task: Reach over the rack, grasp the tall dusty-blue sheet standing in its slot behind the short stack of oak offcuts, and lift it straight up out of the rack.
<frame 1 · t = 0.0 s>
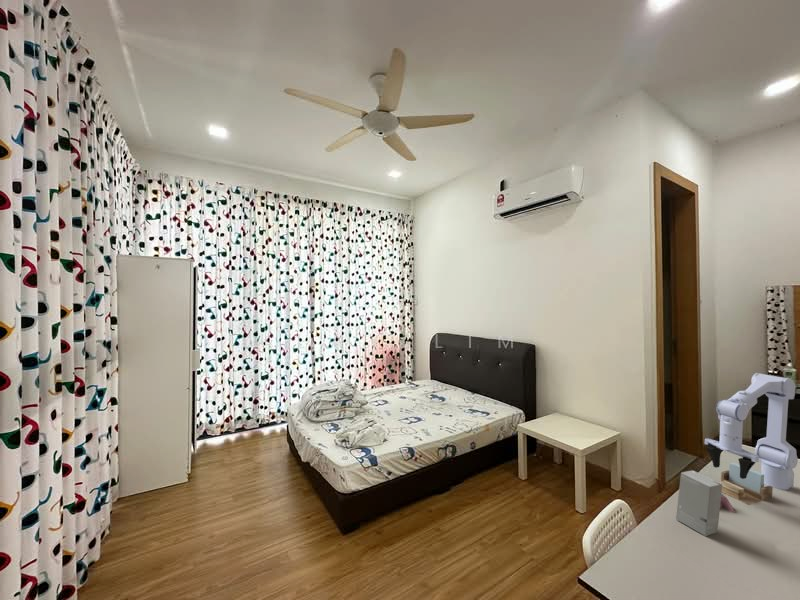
hand: (729, 472, 119), 10 cm above the table, fingers open, 7 cm apart
skincare box: (697, 526, 105), on the table
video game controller: (713, 510, 113), on the table
offcut stack: (731, 493, 121), point 1 cm above the table, touching rack
tall sheet: (745, 489, 124), point 1 cm above the table, touching rack
rack: (738, 494, 122), on the table
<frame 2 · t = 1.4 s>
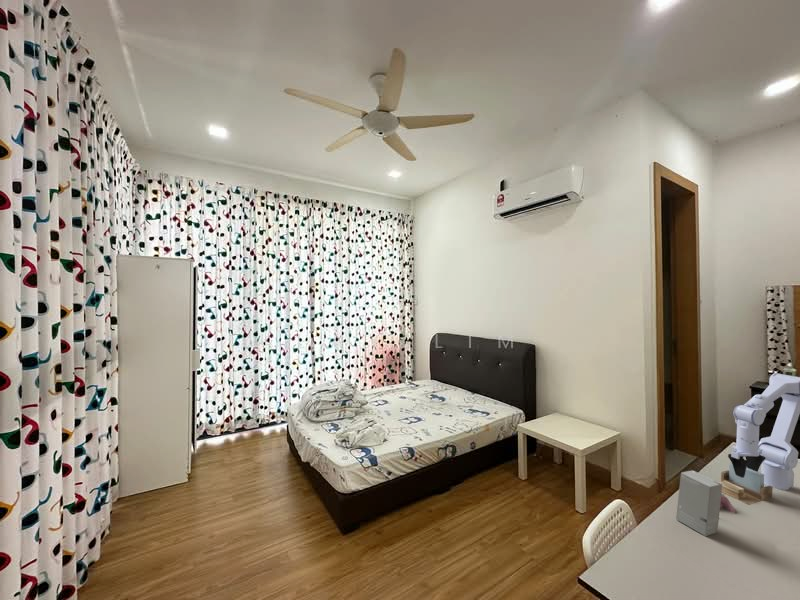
hand: (745, 474, 124), 7 cm above the table, fingers open, 7 cm apart
nothing on the table moved.
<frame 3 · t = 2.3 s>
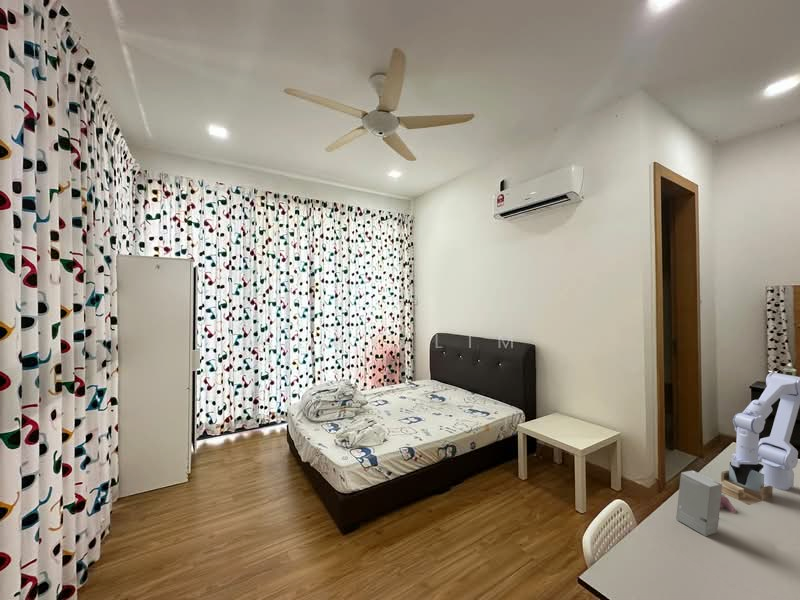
hand: (745, 482, 124), 4 cm above the table, fingers open, 5 cm apart
nothing on the table moved.
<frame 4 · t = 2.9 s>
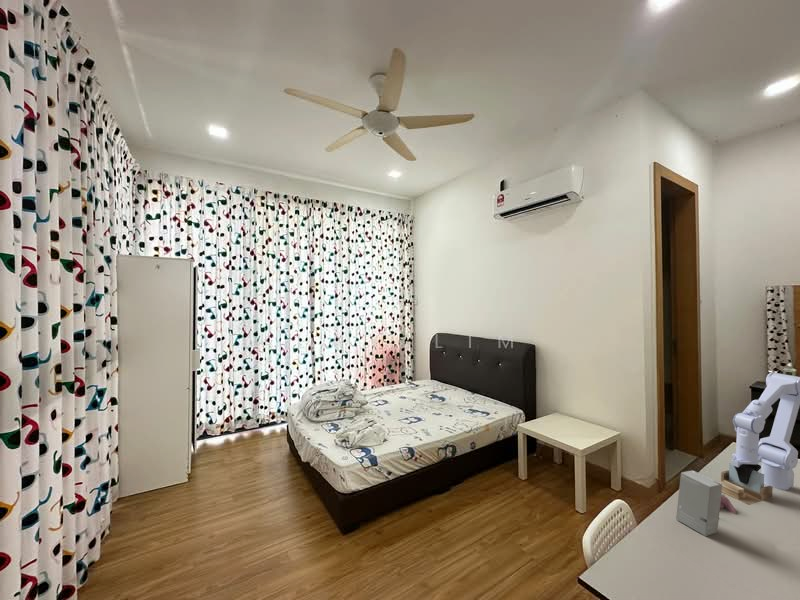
hand: (745, 482, 124), 4 cm above the table, fingers closed on tall sheet, 2 cm apart
tall sheet: (745, 489, 124), point 1 cm above the table, touching gripper, rack
everything else where it was.
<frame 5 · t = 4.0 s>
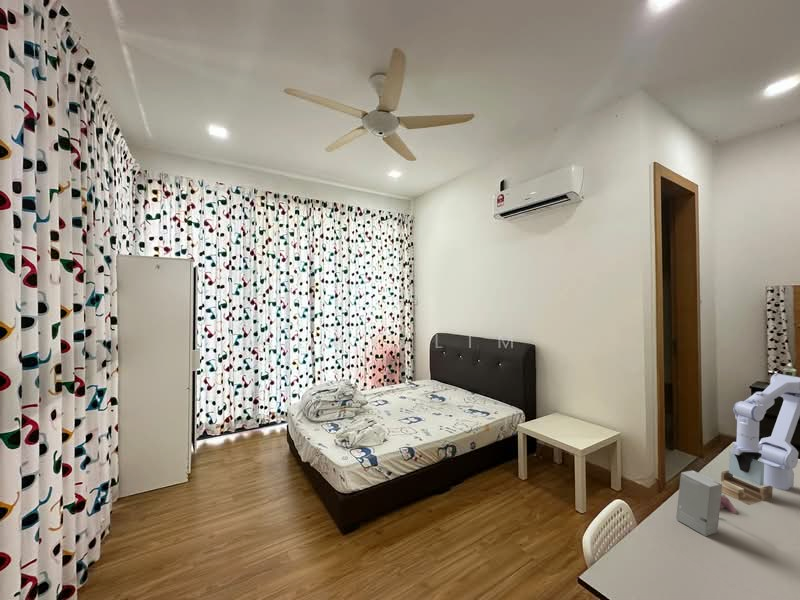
hand: (746, 470, 124), 8 cm above the table, fingers closed on tall sheet
tall sheet: (745, 478, 124), point 5 cm above the table, touching gripper
everything else where it was.
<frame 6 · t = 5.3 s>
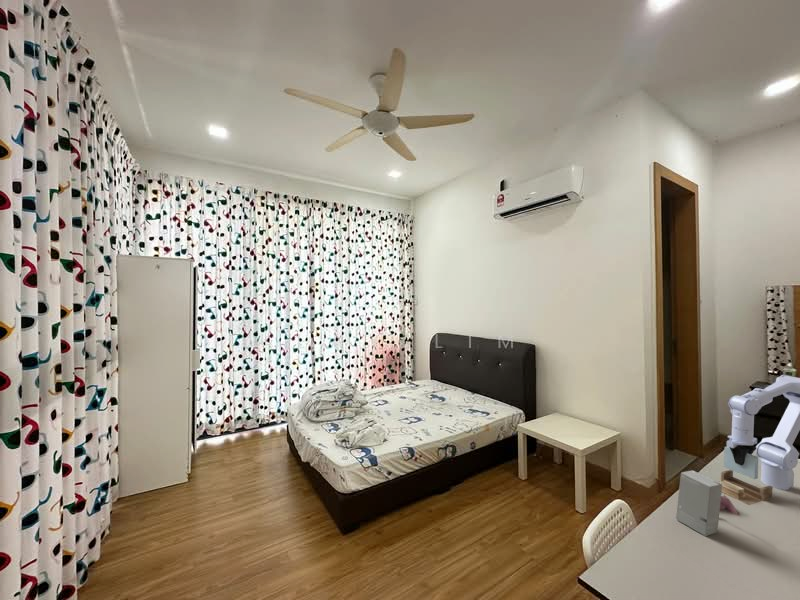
hand: (741, 463, 126), 10 cm above the table, fingers closed on tall sheet
tall sheet: (740, 472, 126), point 6 cm above the table, touching gripper
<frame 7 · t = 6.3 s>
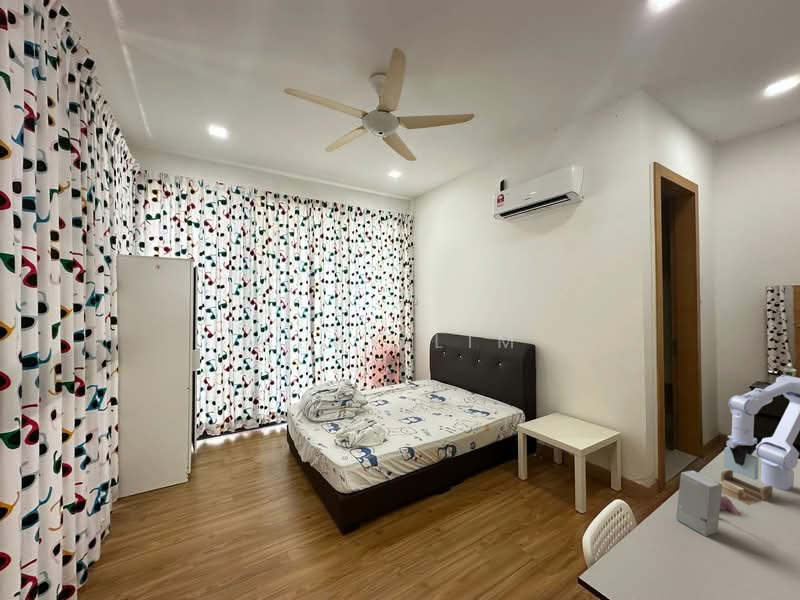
hand: (741, 463, 126), 10 cm above the table, fingers closed on tall sheet
tall sheet: (740, 473, 126), point 6 cm above the table, touching gripper
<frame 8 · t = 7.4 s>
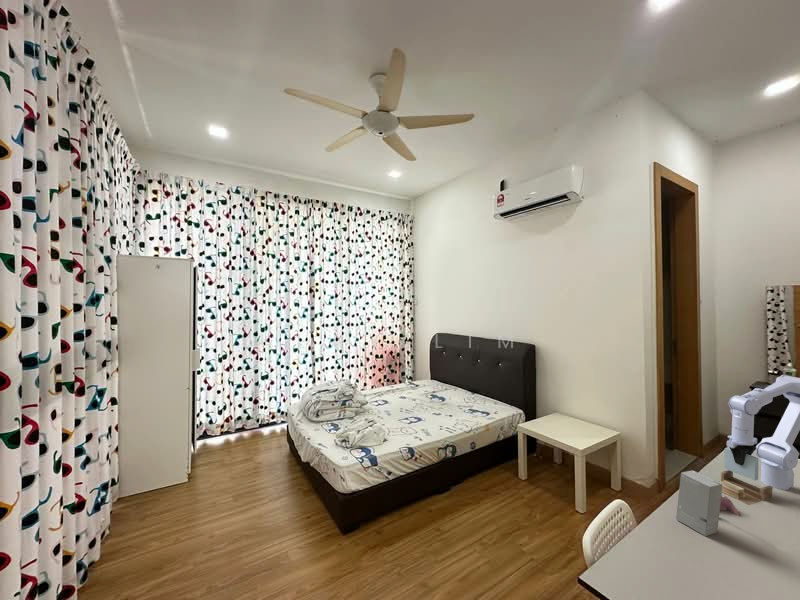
hand: (741, 463, 126), 10 cm above the table, fingers closed on tall sheet
tall sheet: (740, 473, 126), point 6 cm above the table, touching gripper
at the end: the gripper is holding tall sheet; tall sheet point 5.9 cm above the table; offcut stack moved 0.0 cm from its start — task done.
